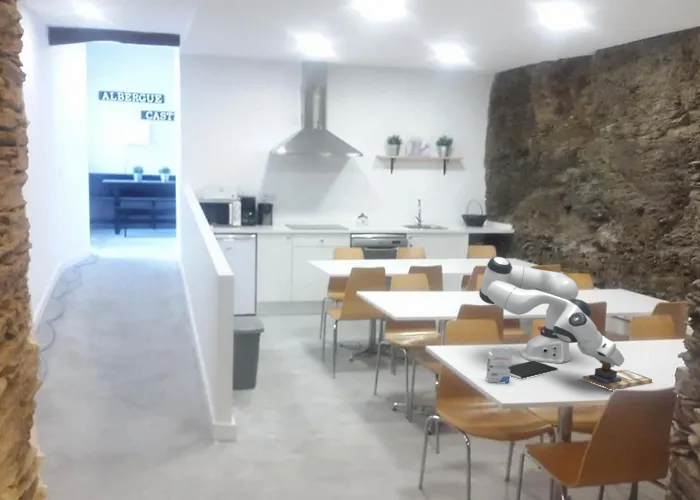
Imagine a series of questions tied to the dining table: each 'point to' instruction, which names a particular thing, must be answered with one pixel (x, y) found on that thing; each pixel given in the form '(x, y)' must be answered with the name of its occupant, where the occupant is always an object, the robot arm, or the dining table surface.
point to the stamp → (605, 371)
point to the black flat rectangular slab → (530, 369)
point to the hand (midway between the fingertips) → (607, 364)
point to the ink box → (499, 365)
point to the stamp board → (619, 380)
